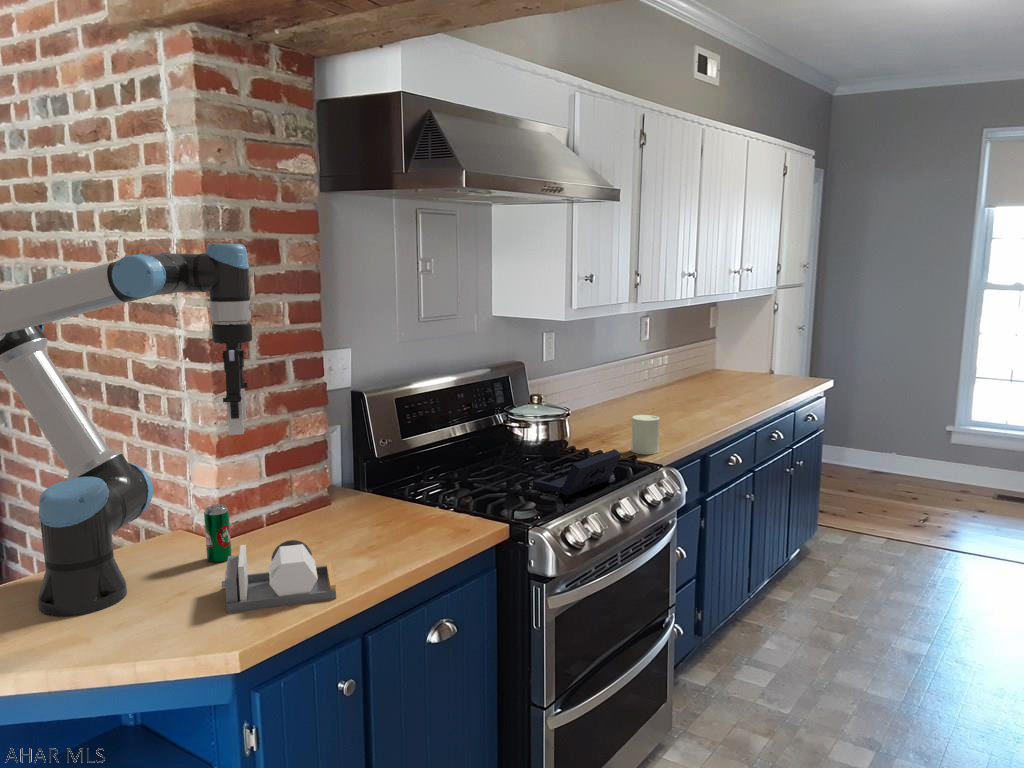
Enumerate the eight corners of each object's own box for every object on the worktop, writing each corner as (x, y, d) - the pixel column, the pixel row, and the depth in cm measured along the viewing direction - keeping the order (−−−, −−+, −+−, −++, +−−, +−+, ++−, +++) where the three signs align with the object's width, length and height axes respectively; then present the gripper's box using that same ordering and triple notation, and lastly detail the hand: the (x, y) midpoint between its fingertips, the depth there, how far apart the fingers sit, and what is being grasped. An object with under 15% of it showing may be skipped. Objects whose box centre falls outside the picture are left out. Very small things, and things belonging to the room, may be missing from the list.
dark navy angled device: (575, 473, 240) (575, 441, 239) (620, 483, 230) (621, 450, 228) (532, 489, 225) (532, 455, 223) (579, 500, 215) (579, 465, 213)
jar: (318, 599, 153) (315, 574, 164) (316, 559, 151) (313, 537, 162) (270, 605, 150) (270, 580, 161) (268, 565, 149) (268, 542, 160)
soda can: (206, 557, 175) (203, 505, 173) (230, 553, 177) (227, 502, 175) (207, 565, 171) (204, 512, 169) (232, 561, 173) (229, 509, 170)
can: (661, 454, 261) (662, 419, 259) (633, 454, 261) (634, 419, 259) (656, 447, 270) (657, 413, 268) (629, 447, 270) (630, 413, 268)
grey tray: (226, 615, 147) (224, 581, 146) (230, 587, 160) (228, 555, 158) (336, 602, 153) (335, 568, 152) (331, 575, 165) (330, 544, 164)
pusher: (220, 609, 148) (218, 569, 146) (224, 584, 158) (221, 546, 157) (246, 606, 149) (243, 566, 148) (248, 582, 160) (245, 544, 158)
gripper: (249, 327, 146) (255, 439, 150) (253, 316, 170) (258, 413, 173) (206, 329, 144) (213, 442, 148) (215, 317, 168) (222, 415, 171)
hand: (237, 426), depth 161 cm, fingers open, 13 cm apart
